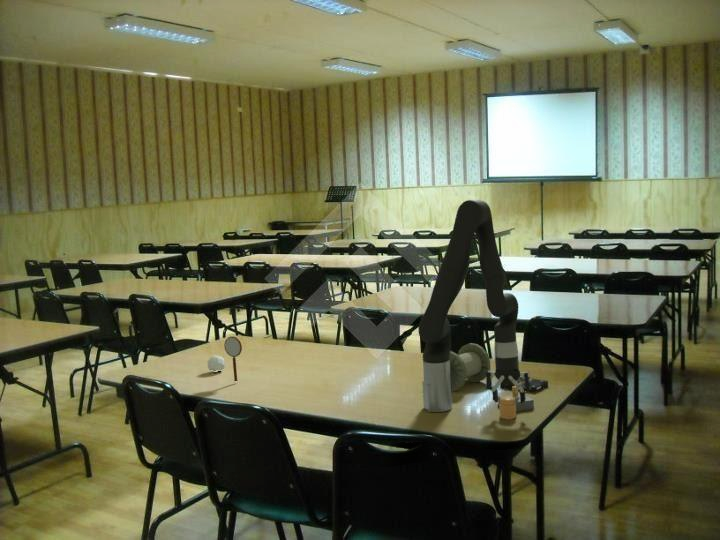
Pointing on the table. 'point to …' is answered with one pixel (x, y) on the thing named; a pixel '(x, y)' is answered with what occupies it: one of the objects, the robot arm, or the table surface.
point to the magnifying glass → (233, 351)
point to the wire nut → (507, 408)
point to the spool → (468, 365)
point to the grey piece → (519, 406)
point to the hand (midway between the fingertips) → (509, 402)
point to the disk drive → (535, 385)
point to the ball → (216, 363)
